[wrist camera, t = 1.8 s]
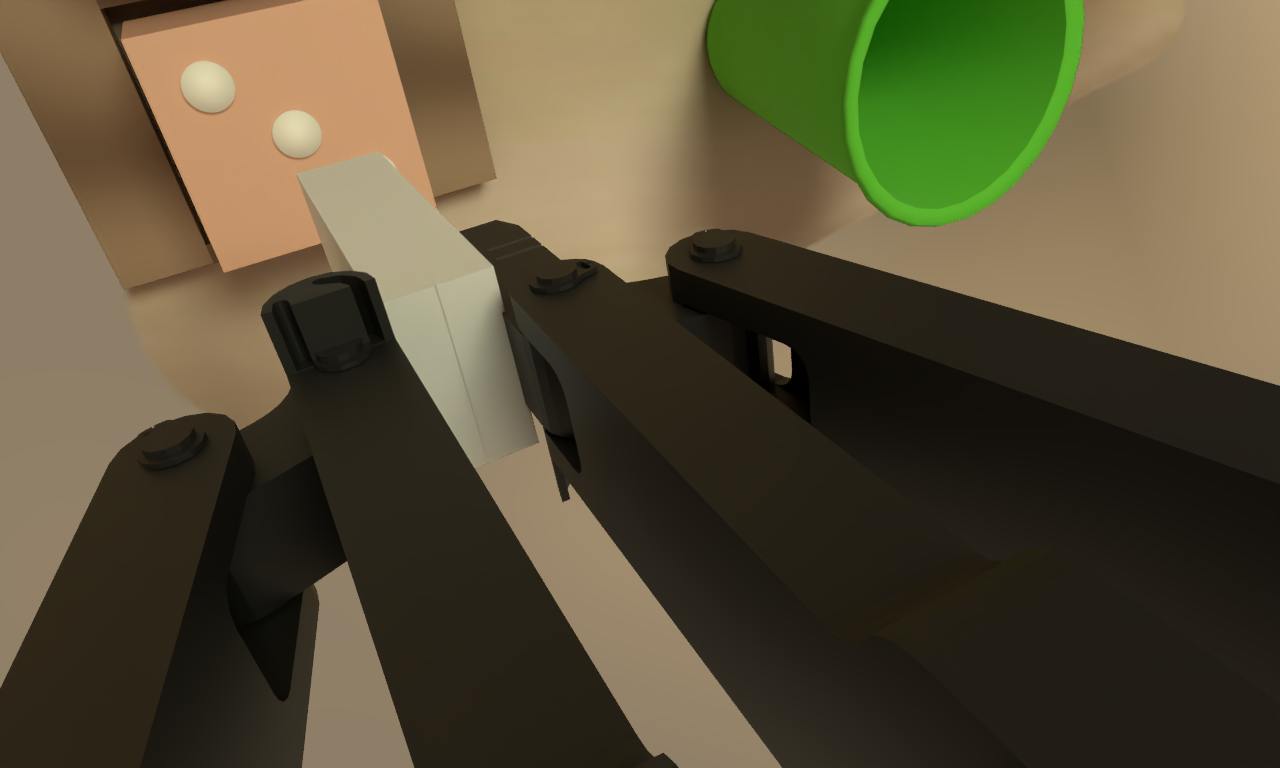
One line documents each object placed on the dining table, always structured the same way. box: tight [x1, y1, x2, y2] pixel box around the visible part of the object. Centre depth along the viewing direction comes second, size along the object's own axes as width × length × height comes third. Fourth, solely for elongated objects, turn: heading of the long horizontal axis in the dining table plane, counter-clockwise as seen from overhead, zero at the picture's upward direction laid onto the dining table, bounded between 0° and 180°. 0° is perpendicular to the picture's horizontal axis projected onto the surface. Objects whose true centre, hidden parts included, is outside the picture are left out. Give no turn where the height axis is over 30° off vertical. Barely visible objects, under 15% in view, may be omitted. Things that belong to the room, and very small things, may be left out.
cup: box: [707, 0, 1084, 227], centre depth 29 cm, size 9×9×11 cm
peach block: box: [121, 0, 437, 273], centre depth 24 cm, size 6×6×4 cm
